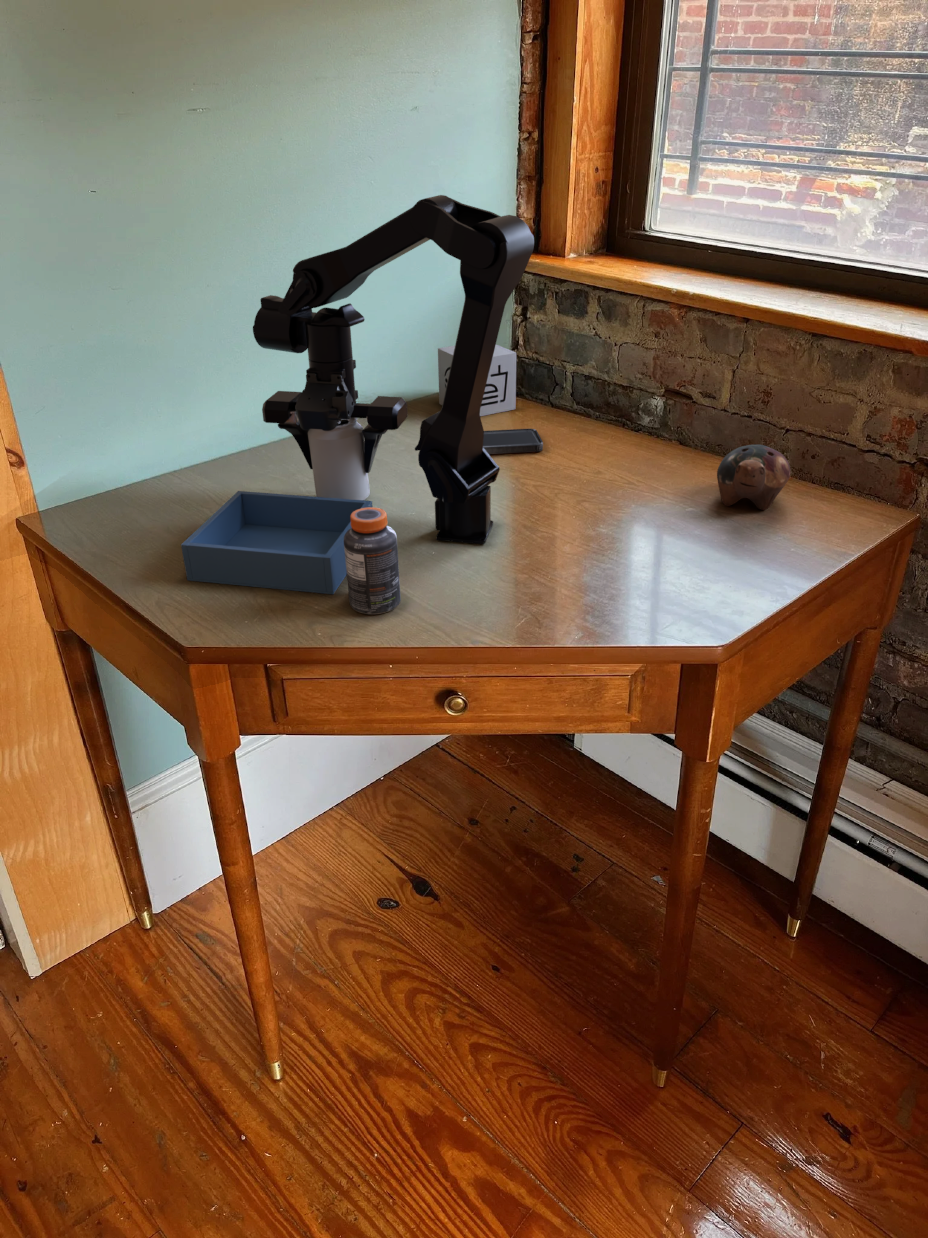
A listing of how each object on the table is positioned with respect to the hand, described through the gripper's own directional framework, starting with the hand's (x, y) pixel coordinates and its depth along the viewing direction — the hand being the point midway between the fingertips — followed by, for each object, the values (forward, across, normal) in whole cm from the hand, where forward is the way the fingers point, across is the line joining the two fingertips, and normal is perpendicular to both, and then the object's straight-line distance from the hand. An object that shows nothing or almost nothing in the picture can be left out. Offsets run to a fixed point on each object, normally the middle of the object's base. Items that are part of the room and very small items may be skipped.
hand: (340, 470), depth 132 cm
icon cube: (+5, +10, +46) cm, 47 cm away
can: (+5, 0, 0) cm, 5 cm away
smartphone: (+4, +16, +27) cm, 32 cm away
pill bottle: (+5, +13, -26) cm, 30 cm away
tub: (+5, -2, -17) cm, 18 cm away
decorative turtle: (+6, +56, +12) cm, 57 cm away
